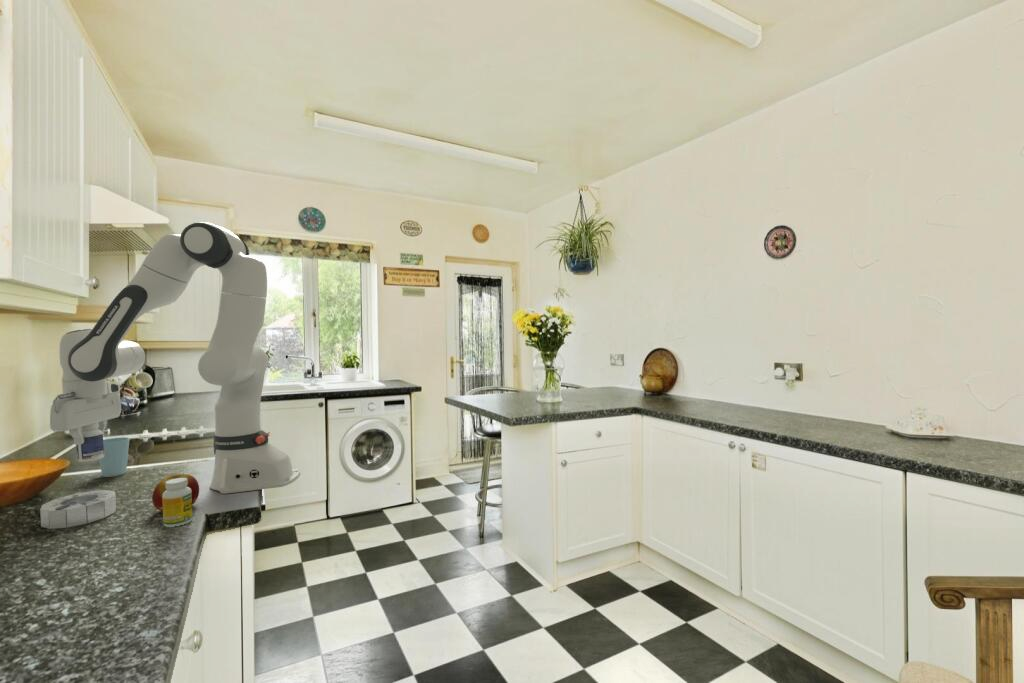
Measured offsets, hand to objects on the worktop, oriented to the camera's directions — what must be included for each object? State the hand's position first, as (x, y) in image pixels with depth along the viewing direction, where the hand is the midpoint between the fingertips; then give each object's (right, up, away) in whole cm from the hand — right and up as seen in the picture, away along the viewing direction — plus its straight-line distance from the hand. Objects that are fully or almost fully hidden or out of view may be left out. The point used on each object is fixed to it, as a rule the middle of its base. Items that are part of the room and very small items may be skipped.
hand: (90, 441), depth 124 cm
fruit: (+33, -14, -13) cm, 38 cm away
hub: (+13, -14, -17) cm, 26 cm away
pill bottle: (0, -5, 0) cm, 5 cm away
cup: (-7, -14, +15) cm, 22 cm away
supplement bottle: (+39, -14, -21) cm, 47 cm away
